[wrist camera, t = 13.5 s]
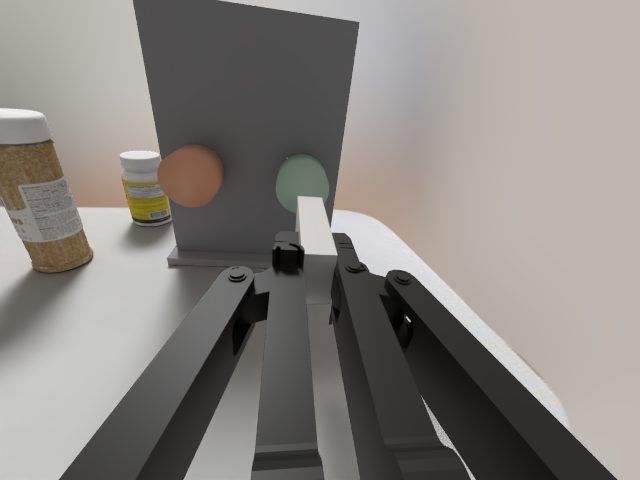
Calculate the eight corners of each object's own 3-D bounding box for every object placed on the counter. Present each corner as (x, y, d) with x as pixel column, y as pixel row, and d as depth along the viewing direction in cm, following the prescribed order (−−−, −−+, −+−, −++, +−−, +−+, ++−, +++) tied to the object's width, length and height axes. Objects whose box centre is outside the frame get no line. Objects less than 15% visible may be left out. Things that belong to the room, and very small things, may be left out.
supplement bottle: (146, 210, 38) (132, 147, 34) (180, 213, 38) (170, 152, 34) (124, 225, 34) (105, 156, 30) (163, 229, 34) (149, 161, 30)
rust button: (162, 205, 22) (151, 149, 20) (203, 166, 32) (199, 127, 30) (219, 209, 23) (214, 155, 20) (241, 170, 33) (240, 131, 30)
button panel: (168, 264, 28) (109, -22, 17) (190, 232, 34) (157, 5, 23) (331, 270, 30) (370, 19, 19) (325, 239, 36) (352, 34, 25)
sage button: (274, 212, 23) (276, 160, 21) (280, 173, 33) (282, 135, 31) (325, 215, 24) (332, 165, 22) (316, 176, 34) (320, 138, 32)
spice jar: (27, 260, 26) (-52, 106, 20) (85, 243, 30) (34, 107, 23) (42, 281, 24) (-41, 116, 17) (103, 261, 27) (52, 115, 21)
